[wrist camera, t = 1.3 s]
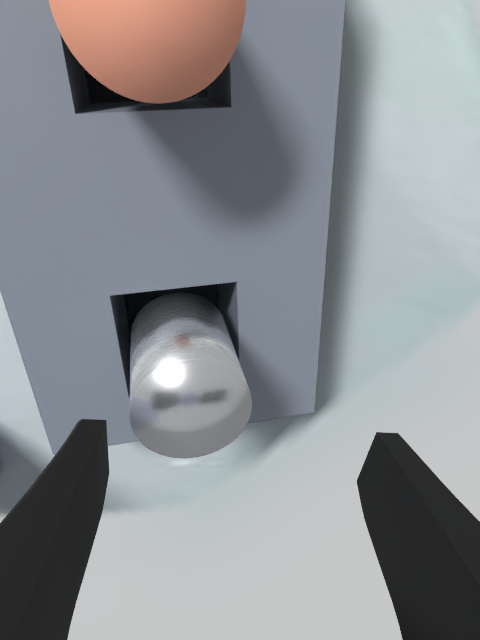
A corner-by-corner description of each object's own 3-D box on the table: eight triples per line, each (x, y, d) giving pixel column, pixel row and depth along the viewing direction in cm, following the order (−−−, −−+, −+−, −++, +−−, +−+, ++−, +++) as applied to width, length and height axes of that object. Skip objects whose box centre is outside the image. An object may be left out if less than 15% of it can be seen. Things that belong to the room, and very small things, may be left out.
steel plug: (137, 380, 17) (138, 467, 14) (123, 298, 16) (120, 371, 12) (227, 367, 18) (252, 447, 14) (223, 287, 16) (251, 353, 12)
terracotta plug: (89, 96, 13) (68, 107, 9) (60, -69, 11) (19, -148, 7) (214, 92, 13) (248, 100, 9) (207, -66, 11) (244, -136, 8)
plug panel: (68, 380, 22) (53, 454, 18) (-74, -153, 13) (-179, -266, 8) (281, 351, 24) (314, 412, 20) (295, -134, 14) (362, -221, 10)
